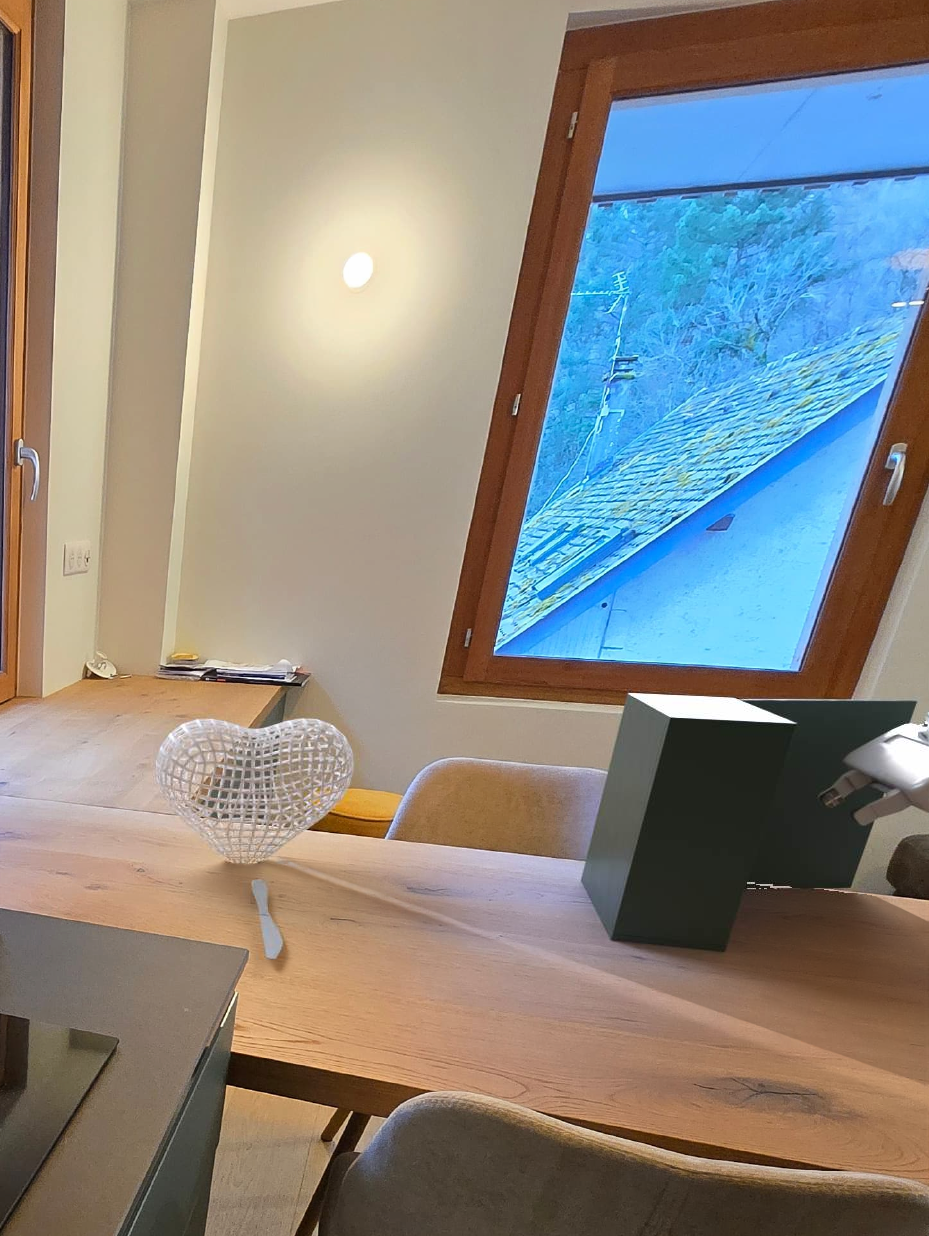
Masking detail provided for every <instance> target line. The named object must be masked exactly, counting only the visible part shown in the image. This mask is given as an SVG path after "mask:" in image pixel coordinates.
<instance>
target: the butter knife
mask: <svg viewBox="0 0 929 1236" xmlns="http://www.w3.org/2000/svg"><path fill="white" fill-rule="evenodd" d="M251 890H252V895H253V896H254V898H255V902H256V904H257V908H258V913H259V919H260V928H261V929H260V930H261V936H262V941H263V946H264V953H265V957H266V959H269V960H276V959H277V958H278V956H279V954H280V953H281V950H282V948H283V945H284V940H283V937H282V935H281V932H280V929H279V928H278V926H277V925H276V923H275V922H274V920H273V918H272V916H271V914H270V912H269V908H268V906H269V905H268V901H269V900H268V899H269V888H268V884H267V883H266V881H264V879H253V880H251Z"/></svg>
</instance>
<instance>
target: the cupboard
mask: <svg viewBox="0 0 929 1236" xmlns="http://www.w3.org/2000/svg"><path fill="white" fill-rule="evenodd" d="M738 699H739V698H738ZM738 699H737V698H735V697H724V696H722V697H719V696H699V695H698V696H697V695H677V694H654V693H634V692H633V693H632V692H631V693H630V692H628V693H627V694H626V698H625V703H624V706H623V710H622V714H621V718H620V721H619V722H620V723H619V725H618V730H617V734H616V737H615V742H614V747H613V750H612V754H611V758H610V761H609V767H608V770H607V774H606V777H605V783H604V786H603V790H602V794H601V797H600V802H599V806H598V810H597V815H596V818H595V822H594V826H593V831H592V835H591V838H590V842H589V846H588V850H587V854H586V859H585V862H584V866H583V871H582V874H581V877H580V881H581V883H582V886H583V888H584V890H585V892H586V894H587V896H588V897H589V900H590V902H591V904H592V906H593V908H594V910H595V912H596V914H597V916H598V918H599V920H600V922H601V924H602V926H603V928H604V930H605V932H606V935H607V936H608V938H609V940H610V941H611V942H622V943H630V944H640V945H650V946H659V947H668V948H678V949H687V950H695V951H696V950H697V951H706V952H715V953H723V954H724V953H726V949H727V946H728V943H729V940H730V937H731V935H732V931H733V927H734V924H735V921H736V918H737V915H738V912H739V909H740V906H741V902H742V899H743V896H744V894H745V893H744V892H745V891H746V890H745V887H746V884H747V880H748V877H749V874H750V871H751V868H752V865H753V861H754V858H755V855H756V852H757V849H758V846H759V842H760V839H761V836H762V833H763V830H764V827H765V823H766V820H767V817H768V814H769V811H770V808H771V804H772V801H773V798H774V795H775V792H776V789H777V785H778V782H779V779H780V776H781V773H782V770H783V766H784V763H785V760H786V757H787V754H788V751H789V747H790V744H791V741H792V738H793V734H794V732H795V729H796V725H797V723H794V722H792V721H789V720H787V719H785V718H782V717H780V716H777V715H775V714H772V713H770V712H767V711H765V710H762V709H760V708H757V707H755V706H752V705H750V704H748V703H745V702H743V701H740V700H738Z"/></svg>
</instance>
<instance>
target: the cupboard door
mask: <svg viewBox="0 0 929 1236" xmlns="http://www.w3.org/2000/svg"><path fill="white" fill-rule="evenodd" d="M738 700H740V701H743V702H745V703H748V704H750V705H752V706H755V707H757V708H760V709H762V710H765V711H767V712H770V713H772V714H775V715H777V716H780V717H782V718H785V719H787V720H789V721H792V722H794V723H797V725H796V729H795V732H794V734H793V738H792V741H791V744H790V747H789V751H788V754H787V757H786V760H785V763H784V766H783V770H782V773H781V776H780V779H779V782H778V785H777V789H776V792H775V795H774V798H773V801H772V804H771V808H770V811H769V814H768V817H767V820H766V823H765V827H764V830H763V833H762V836H761V839H760V842H759V846H758V849H757V852H756V855H755V858H754V861H753V865H752V868H751V871H750V874H749V877H748V880H747V882H755V884H746V887H745V890H744V891H749V890H748V889H747V888H756V889H759V888H761V889H764V888H767V889H771V890H775V889H774V888H770V886H760V885H756V884H773V886H790V887H792V888H801V889H800V890H815V889H816V890H817V889H818V890H819V889H821V890H822V889H851V888H852V885H853V883H854V880H855V877H856V874H857V872H858V869H859V866H860V863H861V860H862V858H863V854H864V851H865V849H866V846H867V843H868V840H869V838H870V835H871V832H872V830H873V827H874V824H875V821H876V820H874V821H873V822H871V823H869V824H867V825H865V826H863V825H860V824H858V823H857V822H855V821H854V820H853V818H852V817H851V816H850V812H851V811H852V810H854V809H856V808H858V807H859V806H861V805H862V804H864V803H865V804H870V803H872V802H874V801H876V800H879V799H881V798H883V797H885V793H883V792H881V791H879V790H877V789H875V788H872V787H870V786H868V785H865V786H864V787H862V788H860V789H858V790H857V789H855V790H853V791H852V792H851V793H850V794H848V795H847V796H846V797H844V799H845V800H844V801H843V802H841V803H839V804H837V805H836V806H834V807H832V808H830V807H827V806H825V805H823V804H822V803H821V801H820V800H819V799H818V795H819V794H820V793H822V792H824V791H825V790H827V789H829V788H830V787H831V786H832V785H833V784H834V783H835V782H836V781H837V780H838V779H839V778H840V777H841V776H842V775H843V774H845V773H847V772H848V770H847V769H846V767H845V766H844V765H843V763H842V761H843V759H844V758H845V757H846V756H847V755H848V754H849V753H851V752H852V751H854V750H856V749H857V748H859V747H861V746H863V745H865V744H866V743H868V742H870V741H872V740H874V739H875V738H877V737H879V736H881V735H883V734H885V733H887V732H889V731H891V730H893V729H895V728H897V727H899V726H902V725H905V724H911V720H912V717H913V715H914V712H915V709H916V706H917V704H918V700H913V699H819V698H818V699H817V698H815V699H813V698H811V699H810V698H809V699H806V698H801V699H800V698H797V699H796V698H792V699H791V698H789V699H788V698H738ZM776 890H780V889H779V888H777V889H776Z"/></svg>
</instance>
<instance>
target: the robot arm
mask: <svg viewBox="0 0 929 1236" xmlns="http://www.w3.org/2000/svg"><path fill="white" fill-rule="evenodd" d="M842 763H843V765H844V766H845V767H846V769H847V770H848V772H847V773H845V774H843V775H842V776H841V777H840V778H839V779H838V780H837V781H836V782H835V783H834V784H833V785H832V786H831V787H830V788H829V789H827V790H825V791H824V792H822V793H820V794H819V795H818V799H819V800H820V801H821V803H822V804H823V805H825V806H827V807H830V808H832V807H834V806H836V805H837V804H839V803H841V802H843V801H844V800H845V799H844V797H846V796H847V795H848V794H850V793H851V792H852V791H853V790H855V789H857V790H858V789H860V788H862V787H864V786H865V785H868V786H870V787H872V788H875V789H877V790H879V791H881V792H883V793H884V794H885V795H884V796H883V798H881V799H879V800H876V801H874V802H872V803H870V804H865V803H864V804H862V805H861V806H859V807H858V808H856V809H854V810H852V811H851V812H850V816H851V817H852V818H853V820H854V821H855V822H857V823H858V824H860V825H863V826H865V825H867V824H869V823H871V822H873V821H874V820H875V821H876V820H878V819H880V818H884V817H887V816H891V815H893V814H896V813H900V812H902V811H904V810H906V809H907V808H909V807H914V808H916V809H919V810H921V811H922V812H925V813H927V814H928V813H929V711H928V712H927V713H926V714H925V722H924V723H921V724H919V725H918V724H914V723H909V724H905V725H902V726H899V727H897V728H895V729H893V730H891V731H889V732H887V733H885V734H883V735H881V736H879V737H877V738H875V739H874V740H872V741H870V742H868V743H866V744H865V745H863V746H861V747H859V748H857V749H856V750H854V751H852V752H851V753H849V754H848V755H847V756H846V757H845V758H844V759H843V761H842ZM875 821H874V822H875Z"/></svg>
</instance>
